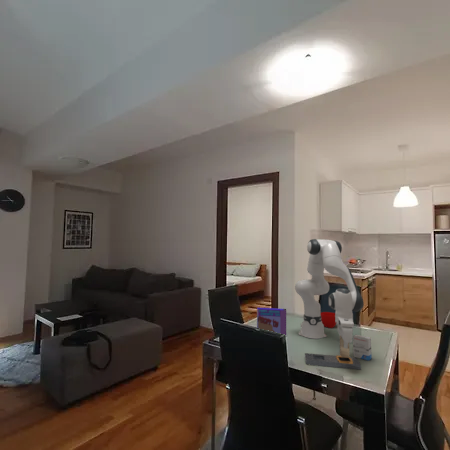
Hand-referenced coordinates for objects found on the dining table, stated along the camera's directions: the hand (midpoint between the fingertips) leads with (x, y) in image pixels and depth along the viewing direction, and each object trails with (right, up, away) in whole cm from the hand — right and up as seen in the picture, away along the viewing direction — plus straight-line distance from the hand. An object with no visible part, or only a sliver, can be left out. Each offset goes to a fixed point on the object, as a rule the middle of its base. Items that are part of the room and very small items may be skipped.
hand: (344, 346), depth 157 cm
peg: (0, -5, 0) cm, 5 cm away
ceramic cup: (+20, -16, +74) cm, 78 cm away
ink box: (+14, -11, +10) cm, 20 cm away
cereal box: (-35, -11, +22) cm, 43 cm away
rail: (-7, -10, +1) cm, 12 cm away
